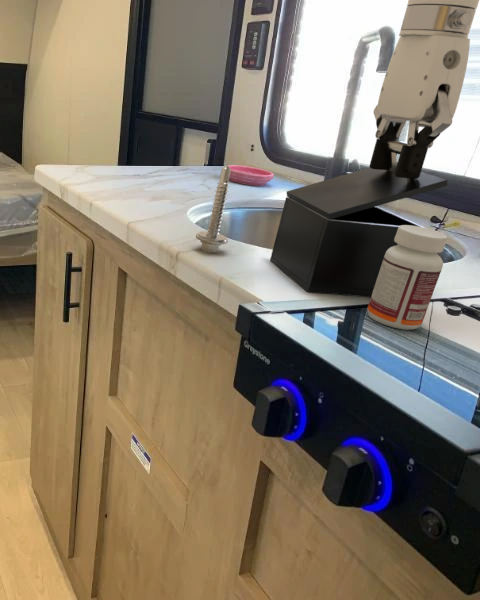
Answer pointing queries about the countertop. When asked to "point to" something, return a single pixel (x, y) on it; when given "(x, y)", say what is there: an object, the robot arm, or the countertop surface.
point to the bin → (334, 248)
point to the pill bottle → (407, 278)
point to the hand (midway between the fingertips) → (393, 171)
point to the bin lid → (363, 188)
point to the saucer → (249, 175)
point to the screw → (216, 217)
